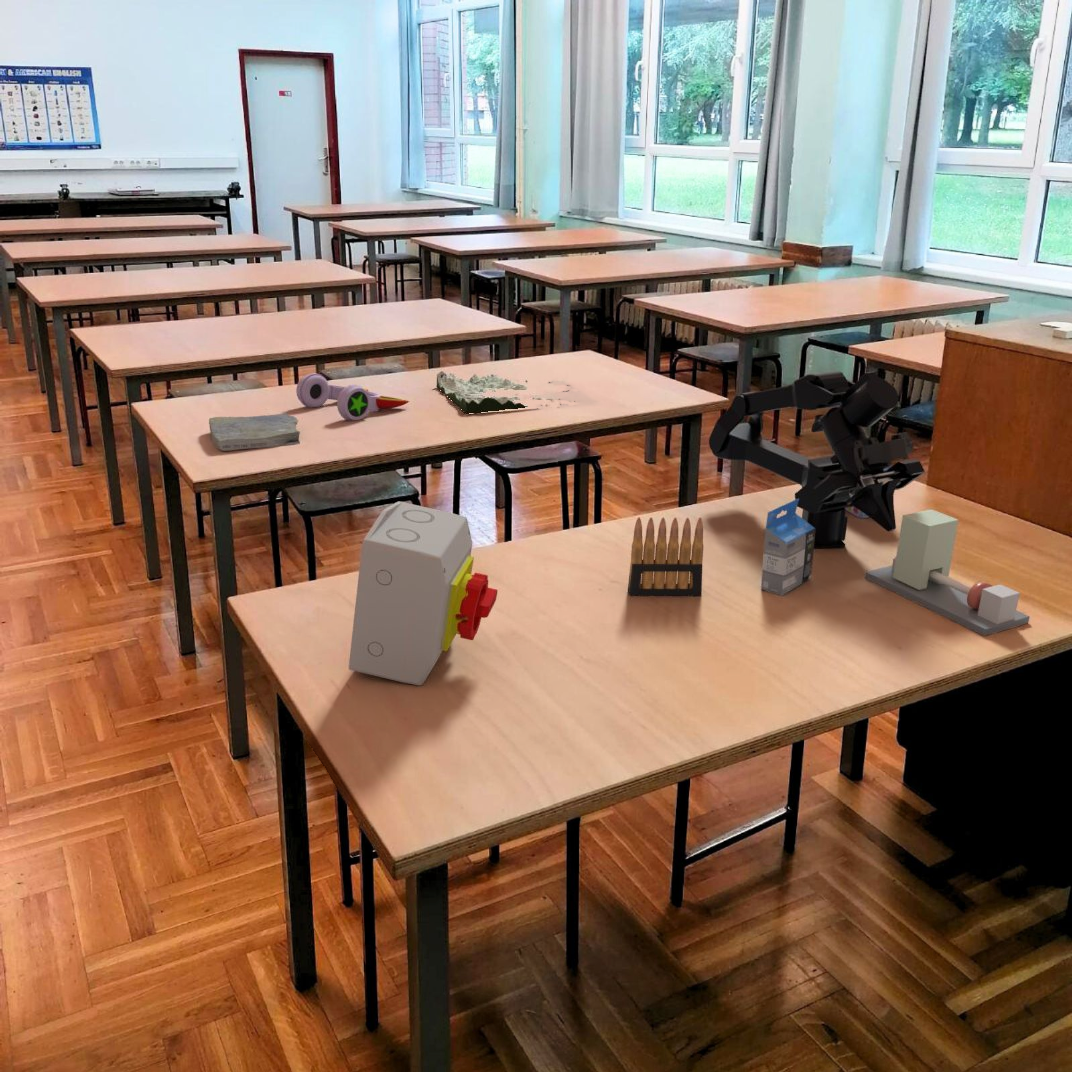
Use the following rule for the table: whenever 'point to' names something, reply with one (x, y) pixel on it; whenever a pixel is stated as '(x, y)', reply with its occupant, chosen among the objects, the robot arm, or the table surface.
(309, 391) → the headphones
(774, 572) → the label tape box
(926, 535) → the pale green upright block
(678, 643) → the table surface
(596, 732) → the table surface
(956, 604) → the grey rail base
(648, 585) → the ammunition clip
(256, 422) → the fossil
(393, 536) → the electrical switch box
